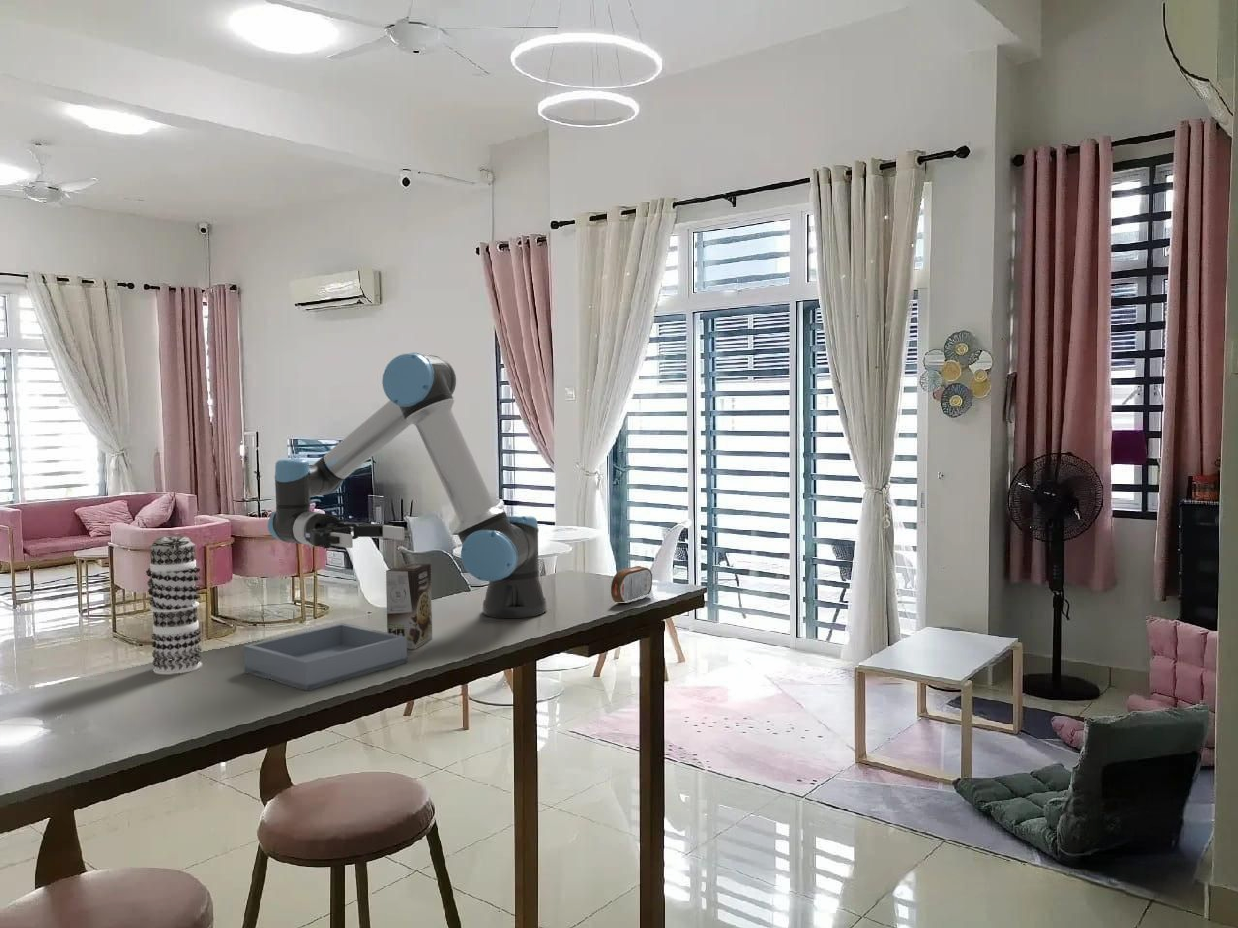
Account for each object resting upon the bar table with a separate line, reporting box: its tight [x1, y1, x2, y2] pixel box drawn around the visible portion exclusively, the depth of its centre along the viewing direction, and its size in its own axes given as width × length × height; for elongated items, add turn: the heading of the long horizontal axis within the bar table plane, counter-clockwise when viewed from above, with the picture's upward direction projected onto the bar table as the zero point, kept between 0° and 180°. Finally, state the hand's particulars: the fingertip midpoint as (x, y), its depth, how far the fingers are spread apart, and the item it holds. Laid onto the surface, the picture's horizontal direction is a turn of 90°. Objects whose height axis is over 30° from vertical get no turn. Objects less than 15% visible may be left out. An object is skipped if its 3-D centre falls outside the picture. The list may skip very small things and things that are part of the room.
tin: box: [610, 565, 653, 603], centre depth 234 cm, size 15×3×8 cm, turn 144°
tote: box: [242, 622, 408, 692], centre depth 177 cm, size 22×20×5 cm
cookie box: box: [385, 563, 433, 650], centre depth 194 cm, size 9×6×16 cm
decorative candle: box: [145, 535, 203, 675], centre depth 178 cm, size 9×9×25 cm
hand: (377, 537), depth 199 cm, fingers open, 13 cm apart
